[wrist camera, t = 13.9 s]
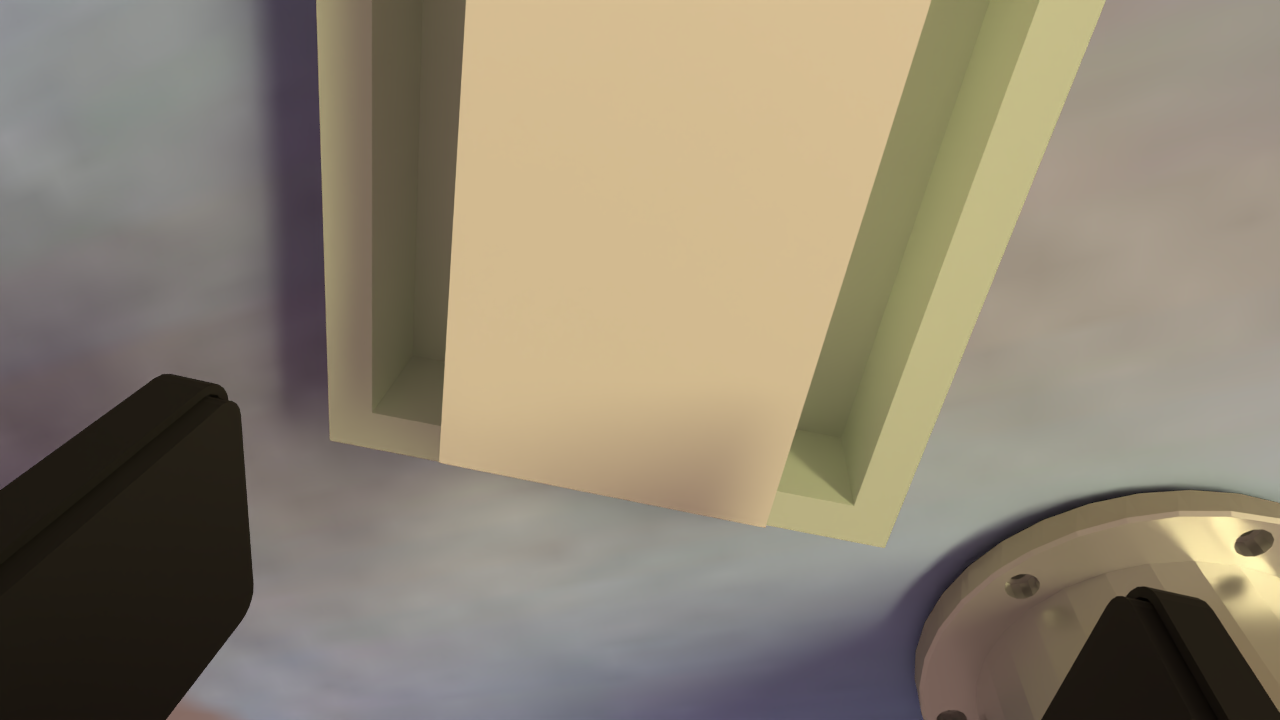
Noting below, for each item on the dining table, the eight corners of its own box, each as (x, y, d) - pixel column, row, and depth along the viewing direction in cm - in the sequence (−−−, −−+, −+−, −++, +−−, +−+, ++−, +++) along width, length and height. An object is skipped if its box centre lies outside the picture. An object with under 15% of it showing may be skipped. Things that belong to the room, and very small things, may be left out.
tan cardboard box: (749, 363, 20) (754, 563, 14) (527, 318, 20) (436, 499, 14) (967, -450, 13) (1168, -751, 7) (620, -516, 13) (516, -871, 7)
